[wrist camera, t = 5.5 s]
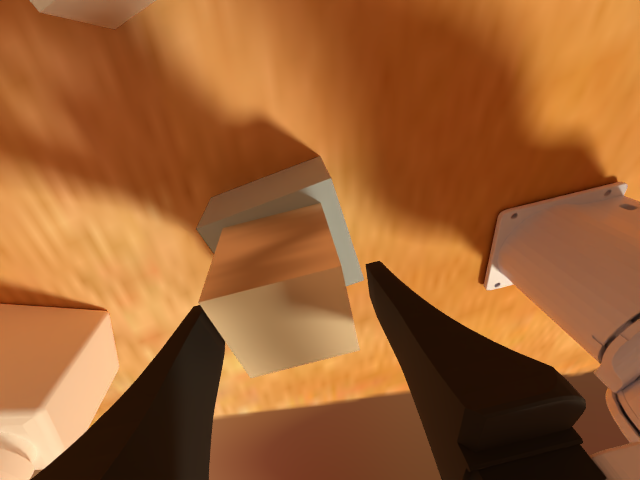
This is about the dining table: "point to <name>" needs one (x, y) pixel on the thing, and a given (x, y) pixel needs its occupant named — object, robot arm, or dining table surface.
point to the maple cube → (280, 292)
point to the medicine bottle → (50, 381)
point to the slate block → (283, 208)
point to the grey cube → (93, 10)
